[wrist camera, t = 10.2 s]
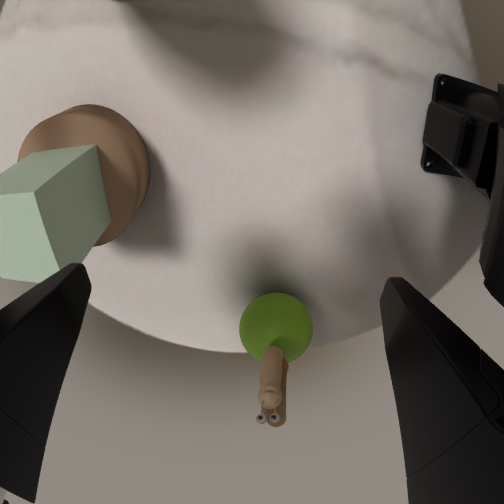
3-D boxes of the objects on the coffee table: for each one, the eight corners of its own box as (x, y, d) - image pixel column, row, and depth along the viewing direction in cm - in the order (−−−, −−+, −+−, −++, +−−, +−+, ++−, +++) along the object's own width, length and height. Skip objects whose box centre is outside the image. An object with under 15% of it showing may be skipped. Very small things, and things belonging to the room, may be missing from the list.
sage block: (96, 144, 16) (33, 192, 11) (111, 221, 19) (66, 285, 14) (32, 152, 16) (-31, 198, 11) (50, 221, 19) (1, 277, 14)
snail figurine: (307, 263, 23) (324, 416, 14) (310, 322, 27) (321, 455, 17) (233, 270, 24) (212, 421, 14) (248, 327, 28) (237, 458, 18)
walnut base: (143, 96, 17) (123, 106, 14) (158, 224, 22) (144, 249, 20) (31, 115, 17) (5, 128, 15) (56, 223, 22) (37, 245, 20)
